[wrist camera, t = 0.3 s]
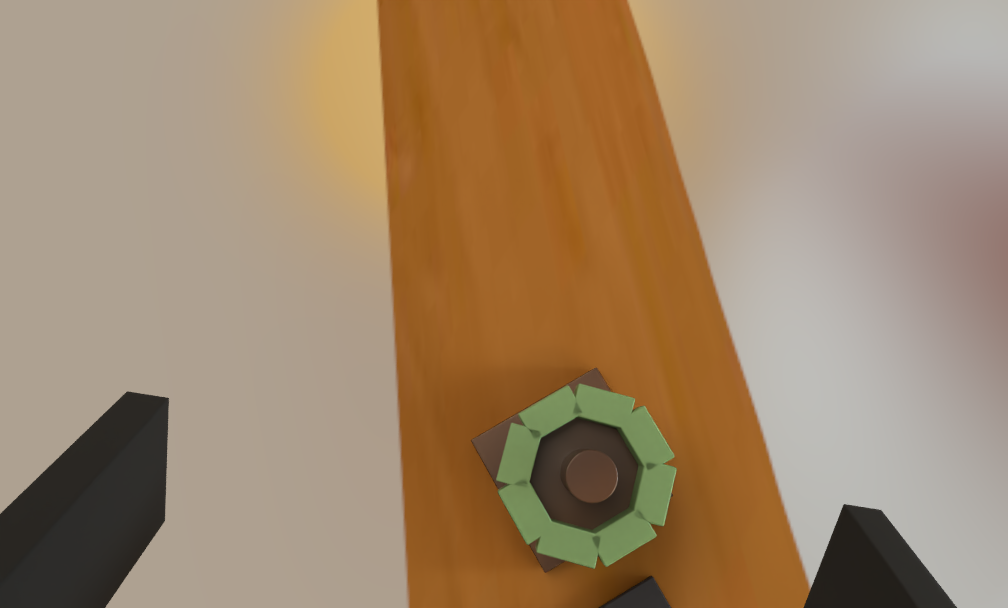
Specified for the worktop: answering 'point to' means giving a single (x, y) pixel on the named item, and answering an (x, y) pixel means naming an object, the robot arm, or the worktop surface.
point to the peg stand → (572, 468)
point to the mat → (640, 597)
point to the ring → (647, 491)
